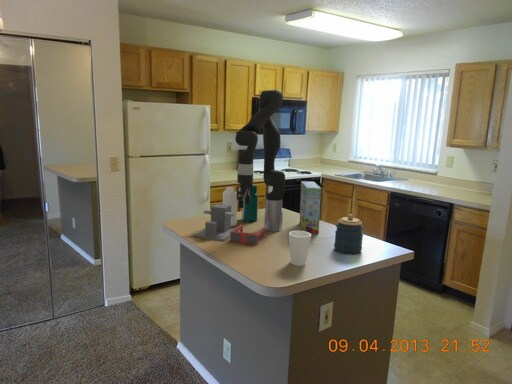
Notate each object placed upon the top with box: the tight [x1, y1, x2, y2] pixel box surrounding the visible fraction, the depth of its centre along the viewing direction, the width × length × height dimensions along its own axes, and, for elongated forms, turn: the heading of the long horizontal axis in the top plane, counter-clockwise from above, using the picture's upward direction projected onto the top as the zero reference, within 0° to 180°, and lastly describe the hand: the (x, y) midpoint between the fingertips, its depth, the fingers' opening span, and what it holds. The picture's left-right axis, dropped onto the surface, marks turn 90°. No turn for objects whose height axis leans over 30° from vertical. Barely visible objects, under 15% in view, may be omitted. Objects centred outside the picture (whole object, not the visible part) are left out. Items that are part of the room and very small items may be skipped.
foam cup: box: [288, 230, 312, 267], centre depth 162 cm, size 10×9×13 cm
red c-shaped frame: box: [229, 224, 266, 246], centre depth 193 cm, size 14×14×5 cm
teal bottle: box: [241, 184, 259, 223], centre depth 228 cm, size 10×8×22 cm
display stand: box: [193, 203, 235, 242], centre depth 198 cm, size 19×17×14 cm
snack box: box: [299, 180, 322, 235], centre depth 215 cm, size 22×9×26 cm, turn 2°
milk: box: [222, 186, 238, 227], centre depth 216 cm, size 6×6×22 cm
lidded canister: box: [333, 214, 365, 255], centre depth 181 cm, size 13×13×18 cm
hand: (244, 206), depth 184 cm, fingers open, 8 cm apart
